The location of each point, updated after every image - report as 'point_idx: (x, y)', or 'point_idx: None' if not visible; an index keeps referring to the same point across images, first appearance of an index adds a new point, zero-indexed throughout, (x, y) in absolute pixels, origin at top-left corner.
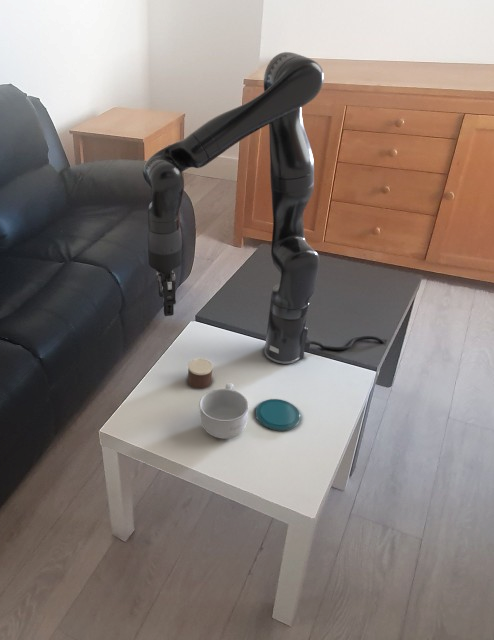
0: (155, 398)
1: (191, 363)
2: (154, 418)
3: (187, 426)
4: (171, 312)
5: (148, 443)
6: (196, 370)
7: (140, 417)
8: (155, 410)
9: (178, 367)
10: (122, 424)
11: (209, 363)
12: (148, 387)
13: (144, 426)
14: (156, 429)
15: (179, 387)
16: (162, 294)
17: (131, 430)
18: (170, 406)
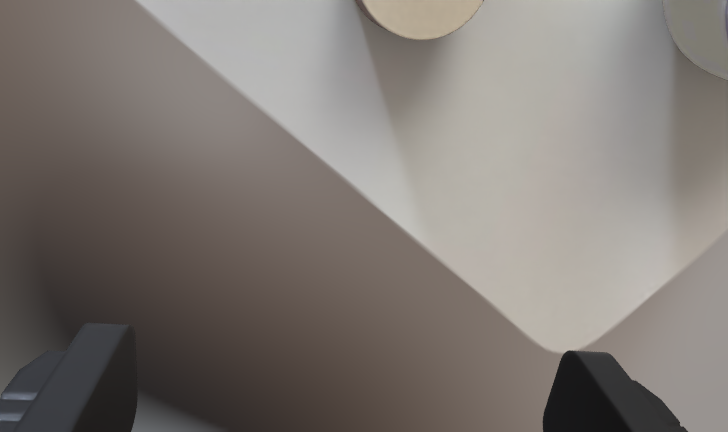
0: (459, 201)
1: (390, 12)
2: (564, 228)
3: (654, 118)
4: (669, 420)
5: (668, 271)
6: (458, 3)
7: (540, 274)
8: (525, 215)
9: (279, 46)
10: (550, 334)
11: None
12: (385, 213)
13: (588, 269)
14: (619, 233)
15: (423, 84)
16: (126, 406)
17: (588, 312)
18: (525, 154)
